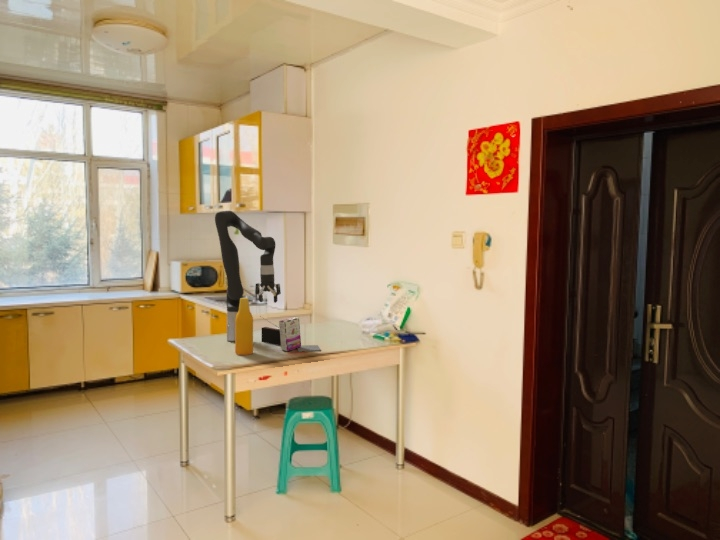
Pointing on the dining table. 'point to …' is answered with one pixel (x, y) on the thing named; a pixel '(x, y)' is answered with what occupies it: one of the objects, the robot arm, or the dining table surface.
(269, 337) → the radio
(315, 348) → the mat
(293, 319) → the candy bar box
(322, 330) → the dining table surface
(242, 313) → the beer bottle
